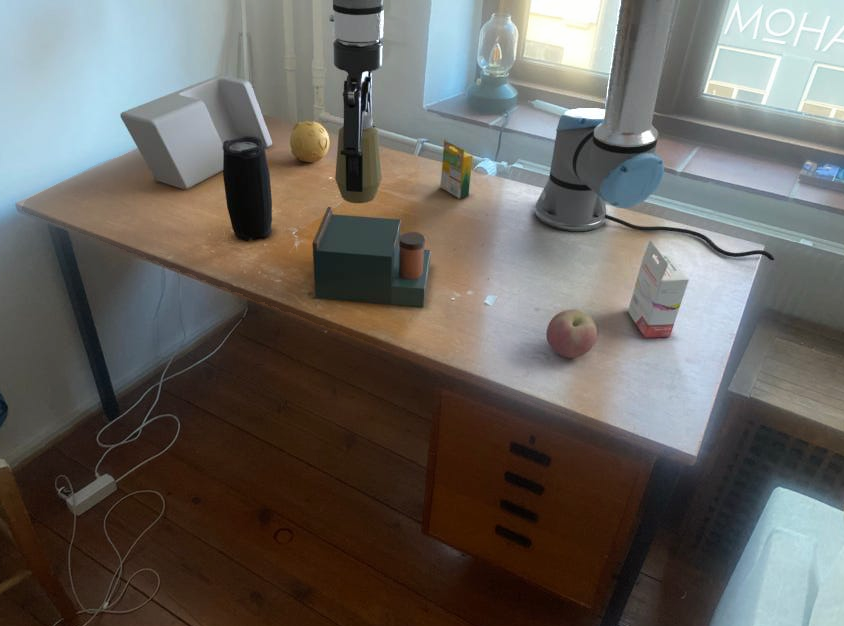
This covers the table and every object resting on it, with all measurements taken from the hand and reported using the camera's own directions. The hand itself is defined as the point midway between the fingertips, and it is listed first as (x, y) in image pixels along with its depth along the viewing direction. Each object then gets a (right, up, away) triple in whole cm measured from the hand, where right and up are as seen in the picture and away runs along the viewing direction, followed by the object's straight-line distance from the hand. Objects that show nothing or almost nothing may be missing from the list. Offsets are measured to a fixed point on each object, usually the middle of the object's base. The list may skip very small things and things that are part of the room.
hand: (358, 179), depth 122 cm
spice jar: (+9, -15, +8) cm, 19 cm away
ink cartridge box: (+51, -25, +3) cm, 57 cm away
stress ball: (-14, +19, +57) cm, 62 cm away
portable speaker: (-23, -5, +27) cm, 36 cm away
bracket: (-39, +16, +53) cm, 68 cm away
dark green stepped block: (+3, -16, +13) cm, 21 cm away
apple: (+35, -30, -4) cm, 46 cm away
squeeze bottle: (0, -3, +2) cm, 3 cm away
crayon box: (+21, +8, +44) cm, 50 cm away
